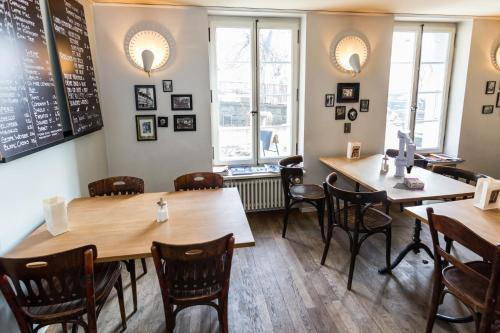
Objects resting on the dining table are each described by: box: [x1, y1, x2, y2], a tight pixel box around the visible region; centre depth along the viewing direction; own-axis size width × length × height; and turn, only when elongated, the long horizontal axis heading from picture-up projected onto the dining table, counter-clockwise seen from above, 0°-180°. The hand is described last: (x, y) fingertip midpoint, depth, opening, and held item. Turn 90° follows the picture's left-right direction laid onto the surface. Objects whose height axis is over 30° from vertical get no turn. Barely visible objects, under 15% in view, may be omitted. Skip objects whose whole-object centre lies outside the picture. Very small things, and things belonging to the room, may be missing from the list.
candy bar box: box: [402, 177, 425, 190], centre depth 266 cm, size 11×5×16 cm
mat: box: [392, 182, 416, 192], centre depth 267 cm, size 16×16×1 cm
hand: (408, 173), depth 271 cm, fingers closed
